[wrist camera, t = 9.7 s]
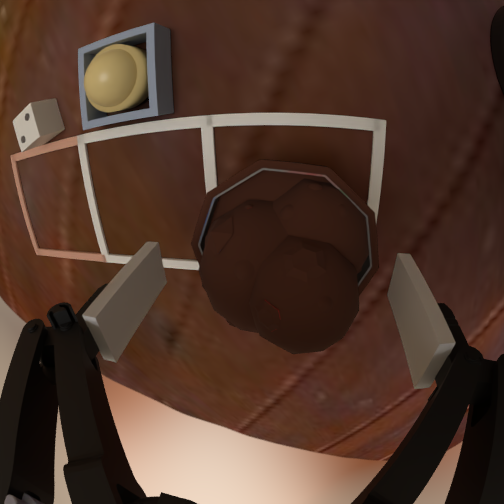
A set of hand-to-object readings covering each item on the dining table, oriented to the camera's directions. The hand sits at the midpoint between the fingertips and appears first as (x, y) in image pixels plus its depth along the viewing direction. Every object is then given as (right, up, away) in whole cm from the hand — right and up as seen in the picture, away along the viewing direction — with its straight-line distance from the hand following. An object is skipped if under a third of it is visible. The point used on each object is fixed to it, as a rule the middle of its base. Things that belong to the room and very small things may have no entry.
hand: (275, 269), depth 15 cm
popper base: (-12, +17, +6) cm, 21 cm away
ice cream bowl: (+2, +5, +9) cm, 11 cm away
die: (-24, +16, +9) cm, 30 cm away
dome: (-12, +16, +5) cm, 21 cm away
